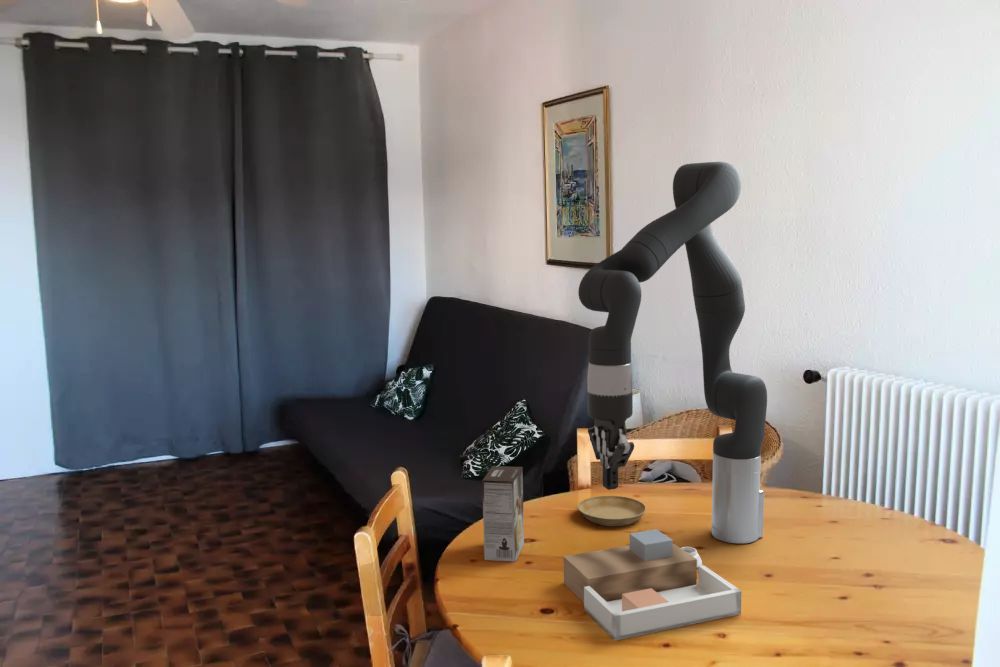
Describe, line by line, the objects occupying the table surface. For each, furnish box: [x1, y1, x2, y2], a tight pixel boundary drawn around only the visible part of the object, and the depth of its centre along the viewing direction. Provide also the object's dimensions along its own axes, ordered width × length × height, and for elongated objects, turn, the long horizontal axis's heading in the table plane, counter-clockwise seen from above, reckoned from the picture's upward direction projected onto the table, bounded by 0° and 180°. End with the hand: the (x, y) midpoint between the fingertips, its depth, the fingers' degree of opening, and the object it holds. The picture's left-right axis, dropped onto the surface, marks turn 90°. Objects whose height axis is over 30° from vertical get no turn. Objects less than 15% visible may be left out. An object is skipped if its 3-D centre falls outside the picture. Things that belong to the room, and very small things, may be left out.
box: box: [583, 564, 743, 641], centre depth 138 cm, size 23×11×4 cm, turn 110°
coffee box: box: [481, 465, 525, 563], centre depth 163 cm, size 9×6×16 cm
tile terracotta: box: [622, 588, 668, 611], centre depth 136 cm, size 6×6×3 cm
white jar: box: [680, 546, 703, 569], centre depth 157 cm, size 5×3×5 cm
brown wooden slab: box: [563, 542, 698, 604], centre depth 149 cm, size 21×10×5 cm, turn 110°
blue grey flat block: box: [629, 528, 674, 561], centre depth 150 cm, size 6×6×3 cm
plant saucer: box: [577, 495, 647, 527], centre depth 182 cm, size 15×15×3 cm
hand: (610, 487), depth 144 cm, fingers closed
